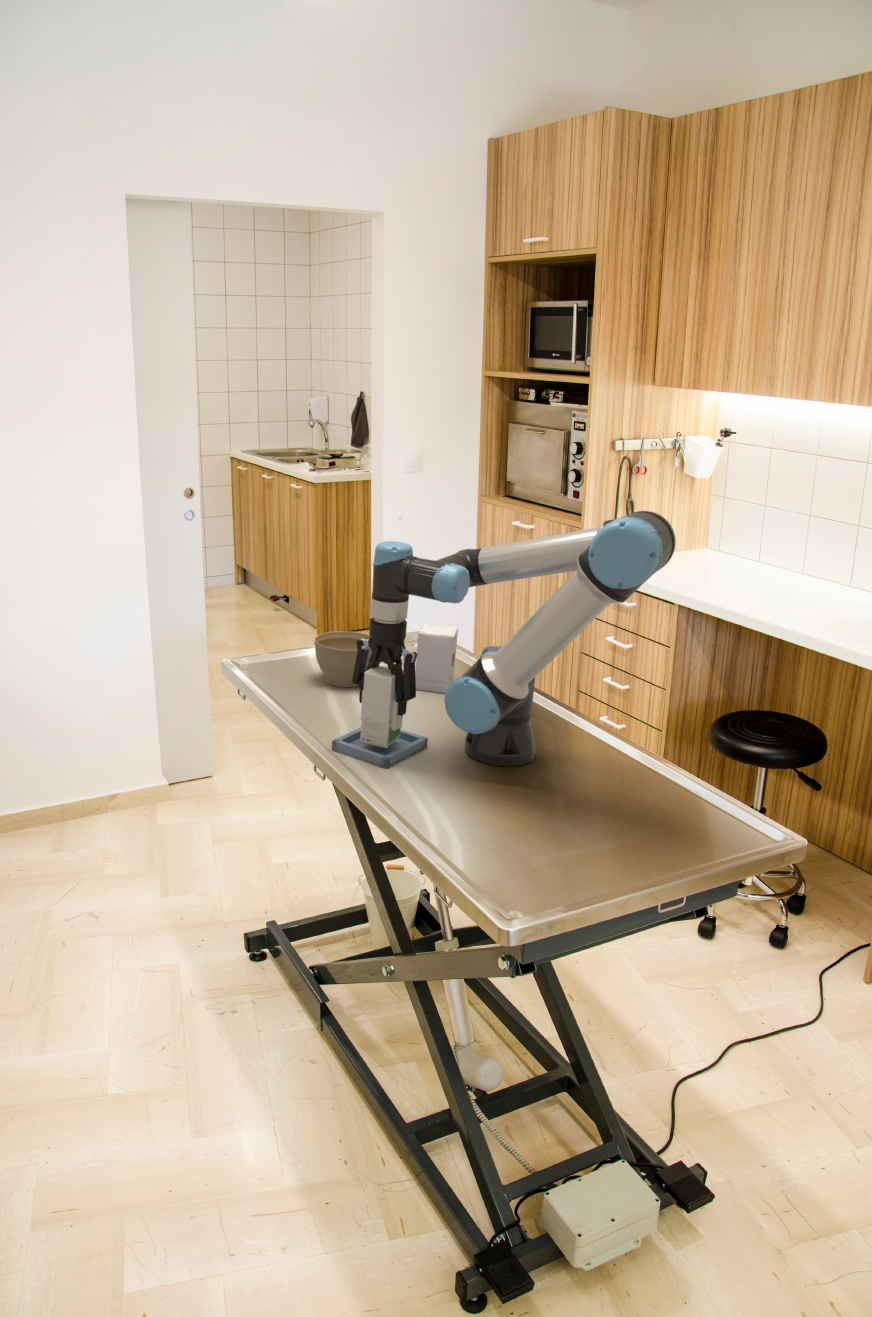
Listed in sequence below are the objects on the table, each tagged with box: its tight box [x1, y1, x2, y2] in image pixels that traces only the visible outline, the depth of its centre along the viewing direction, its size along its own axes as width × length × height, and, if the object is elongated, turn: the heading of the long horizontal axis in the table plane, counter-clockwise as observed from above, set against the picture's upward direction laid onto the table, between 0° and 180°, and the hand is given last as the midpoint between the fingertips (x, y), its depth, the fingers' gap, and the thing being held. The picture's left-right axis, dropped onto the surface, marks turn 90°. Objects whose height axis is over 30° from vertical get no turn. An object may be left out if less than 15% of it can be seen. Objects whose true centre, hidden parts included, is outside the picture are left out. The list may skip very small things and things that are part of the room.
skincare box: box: [360, 662, 404, 748], centre depth 206 cm, size 8×7×16 cm
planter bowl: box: [314, 630, 372, 688], centre depth 245 cm, size 16×16×11 cm
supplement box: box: [415, 623, 459, 694], centre depth 246 cm, size 9×9×15 cm
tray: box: [331, 727, 429, 770], centre depth 208 cm, size 14×15×2 cm
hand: (381, 723), depth 207 cm, fingers closed on skincare box, 7 cm apart
